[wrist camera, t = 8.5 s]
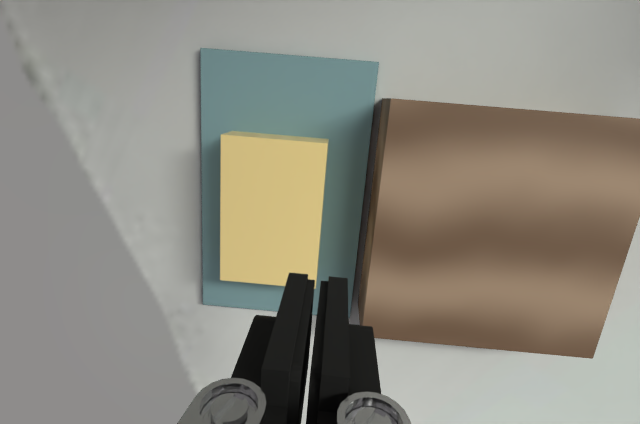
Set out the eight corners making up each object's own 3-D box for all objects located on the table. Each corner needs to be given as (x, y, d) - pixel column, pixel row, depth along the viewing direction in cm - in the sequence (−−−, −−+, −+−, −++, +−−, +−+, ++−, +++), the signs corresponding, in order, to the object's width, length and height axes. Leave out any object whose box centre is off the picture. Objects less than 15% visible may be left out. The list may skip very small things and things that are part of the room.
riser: (382, 98, 23) (391, 98, 20) (615, 117, 23) (670, 121, 19) (358, 303, 27) (361, 336, 24) (556, 321, 27) (592, 358, 23)
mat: (202, 48, 23) (200, 47, 23) (378, 62, 23) (378, 62, 22) (204, 301, 28) (202, 304, 28) (349, 314, 28) (349, 318, 27)
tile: (327, 143, 21) (328, 138, 24) (220, 134, 22) (232, 130, 24) (315, 288, 24) (317, 271, 26) (220, 280, 24) (230, 263, 27)
